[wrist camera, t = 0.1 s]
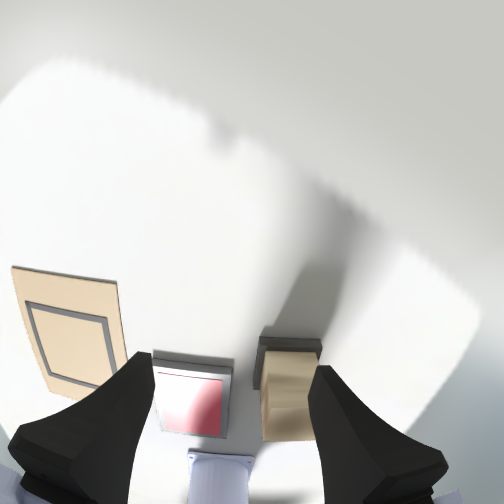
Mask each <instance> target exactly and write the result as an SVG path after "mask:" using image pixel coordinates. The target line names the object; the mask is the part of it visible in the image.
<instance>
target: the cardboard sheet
mask: <svg viewBox="0 0 504 504" xmlns="http://www.w3.org/2000/svg"><path fill="white" fill-rule="evenodd" d="M11 273H12V278H13V283H14V287H15V292H16V296H17V300H18V304H19V307H20V311H21V315H22V318H23V321H24V325H25V328H26V331H27V334H28V337H29V340H30V343H31V346H32V349H33V352H34V355H35V357H36V360H37V363H38V365H39V368H40V370H41V373H42V375H43V378H44V380H45V382H46V385H47V387H48V389H49V391H50V392H53V393H55V394H58V395H61V396H64V397H67V398H71V399H74V400H77V401H80V400H82V399H83V398H85V397H86V396H88V395H89V394H91V393H92V392H93V391H95V390H96V389H97V388H98V387H100V386H101V385H102V384H103V383H105V382H106V381H107V380H108V379H109V378H110V377H111V376H113V375H114V374H115V373H116V372H117V371H118V370H119V369H120V368H121V367H122V366H123V365H124V364H125V363H126V362H127V356H126V350H125V345H124V338H123V332H122V325H121V318H120V311H119V303H118V294H117V285H116V284H113V283H105V282H98V281H91V280H84V279H77V278H71V277H64V276H58V275H52V274H45V273H40V272H34V271H28V270H22V269H17V268H11Z"/></svg>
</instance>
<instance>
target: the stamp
mask: <svg viewBox="0 0 504 504" xmlns="http://www.w3.org/2000/svg"><path fill="white" fill-rule="evenodd" d="M322 348H323V347H322V344H321V342H320V339H299V338H275V337H259V343H258V350H257V357H256V364H255V371H254V378H253V389H255V390H260V398H261V416H262V433H263V441H311V440H316V439H315V435H314V431H313V428H312V424H311V420H310V415H309V407H308V397H307V396H308V393H309V390H310V387H311V384H312V380H313V377H314V374H315V370H316V367H317V366H319V363H318V362H319V358H320V355H321V351H322Z"/></svg>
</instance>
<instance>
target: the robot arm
mask: <svg viewBox="0 0 504 504" xmlns="http://www.w3.org/2000/svg"><path fill="white" fill-rule="evenodd" d="M155 387H156V385H155V378H154V371H153V364H152V356H151V353H145V352H139V351H138V352H137V353H136V354H134V355H133V356H132V357H131V358H130V359H129V360H128V361H127V362H126V363H125V364H124V365H123V366H122V367H121V368H120V369H119V370H118V371H117V372H116V373H115V374H114V375H113V376H111V377H110V378H109V379H108V380H107V381H106V382H105V383H103V384H102V385H101V386H100V387H98V388H97V389H96V390H95V391H93V392H92V393H91V394H89V395H88V396H86V397H85V398H83V399H82V400H80V401H79V402H77V403H75V404H73V405H72V406H70V407H68V408H66V409H64V410H62V411H60V412H58V413H56V414H53V415H51V416H48V417H46V418H43V419H40V420H37V421H34V422H30V423H27V424H23V425H20V426H19V428H18V429H17V431H16V433H15V434H14V436H13V438H12V439H11V441H10V443H9V445H8V450H9V452H10V454H11V455H12V457H13V458H14V459H15V460H16V461H17V463H18V464H19V465H20V466H21V467H22V468H23V469H24V470H25V474H24V476H22V475H21V474H19V473H18V472H16V471H14V470H13V469H11V468H10V467H8V466H6V465H4V464H3V463H1V462H0V504H127V503H128V494H129V486H130V479H131V473H132V467H133V462H134V457H135V452H136V448H137V445H138V442H139V439H140V436H141V433H142V430H143V427H144V425H145V422H146V419H147V416H148V413H149V411H150V408H151V405H152V401H153V396H154V391H155ZM307 397H308V407H309V415H310V420H311V424H312V428H313V431H314V435H315V439H316V443H317V447H318V451H319V455H320V460H321V466H322V475H323V485H324V498H325V504H465V503H464V500H463V498H462V496H461V494H460V492H459V489H455V490H452V491H450V492H448V493H446V494H444V495H441V496H439V497H437V498H435V499H434V500H432V498H431V495H432V494H433V493H434V491H433V489H432V486H433V485H434V484H435V483H436V482H437V481H438V480H440V479H441V478H442V477H443V476H444V474H445V473H446V472H447V470H448V468H449V466H448V464H447V462H446V460H445V458H444V456H443V454H442V452H441V451H440V450H437V449H434V448H432V447H429V446H427V445H424V444H422V443H420V442H418V441H416V440H413V439H412V438H410V437H408V436H406V435H404V434H403V433H401V432H399V431H398V430H396V429H395V428H393V427H392V426H390V425H389V424H387V423H386V422H385V421H384V420H382V419H381V418H380V417H378V416H377V415H376V414H375V413H374V412H373V411H371V410H370V409H369V408H368V407H367V406H366V405H365V404H364V403H363V402H362V401H361V400H360V399H359V398H358V397H357V396H356V395H355V394H354V393H353V392H352V390H351V389H350V388H349V387H348V386H347V385H346V384H345V382H344V381H343V380H342V379H341V378H340V377H339V375H338V374H337V373H336V372H335V371H334V369H333V368H332V367H331V366H330V365H319V366H317V367H316V370H315V374H314V377H313V380H312V384H311V387H310V390H309V393H308V396H307ZM187 458H188V465H189V472H190V486H189V494H188V503H187V504H249V498H248V482H249V478H250V474H251V470H252V466H253V462H254V457H252V456H235V455H220V454H209V453H199V452H188V453H187Z"/></svg>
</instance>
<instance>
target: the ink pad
mask: <svg viewBox="0 0 504 504" xmlns="http://www.w3.org/2000/svg"><path fill="white" fill-rule="evenodd" d="M152 364H153V371H154V378H155V385H156V387H155V391H154V398H155V404H156V409H157V414H158V419H159V424H160V429H161V431H165V432H171V433H177V434H184V435H192V436H201V437H211V438H222V439H226V435H227V421H228V409H229V396H230V384H231V369H232V367H221V366H211V365H201V364H192V363H183V362H176V361H168V360H161V359H154V358H152Z"/></svg>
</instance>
